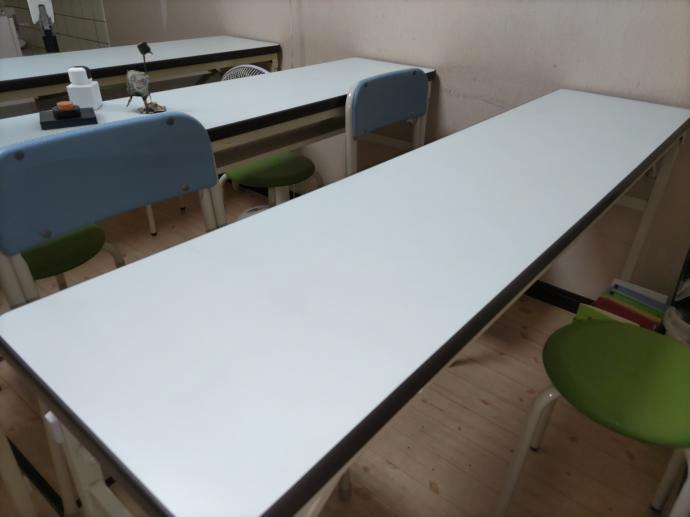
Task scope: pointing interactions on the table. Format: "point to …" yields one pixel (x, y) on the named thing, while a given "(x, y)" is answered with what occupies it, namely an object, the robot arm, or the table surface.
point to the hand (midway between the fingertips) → (52, 51)
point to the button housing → (67, 117)
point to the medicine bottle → (83, 88)
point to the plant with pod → (141, 84)
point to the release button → (65, 105)
